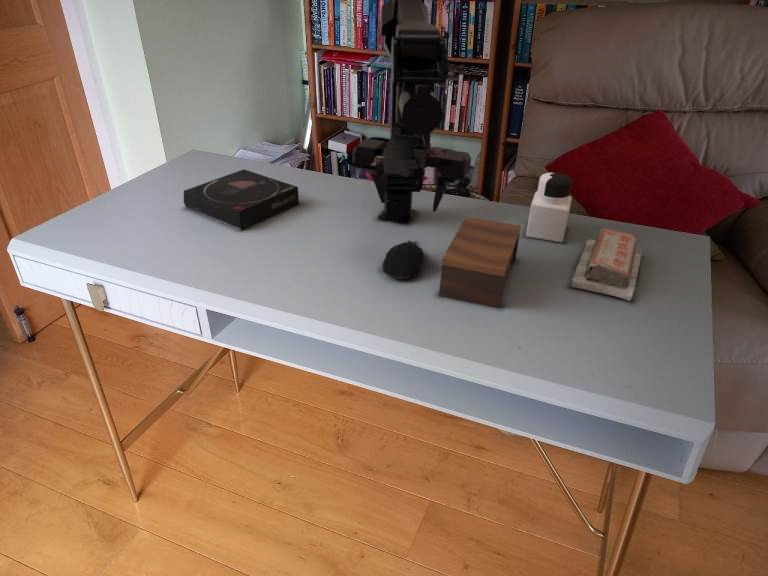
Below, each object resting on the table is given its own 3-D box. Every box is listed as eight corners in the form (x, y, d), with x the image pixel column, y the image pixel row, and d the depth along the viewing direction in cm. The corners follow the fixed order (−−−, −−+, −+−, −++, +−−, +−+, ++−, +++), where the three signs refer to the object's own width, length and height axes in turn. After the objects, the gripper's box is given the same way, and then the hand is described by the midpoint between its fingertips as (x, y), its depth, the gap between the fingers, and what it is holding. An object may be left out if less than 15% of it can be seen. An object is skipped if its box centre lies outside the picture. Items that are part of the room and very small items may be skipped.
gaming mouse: (431, 246, 112) (432, 226, 110) (414, 284, 100) (415, 263, 98) (398, 241, 113) (399, 222, 111) (378, 278, 101) (378, 258, 99)
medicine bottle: (565, 228, 120) (577, 172, 114) (562, 243, 115) (574, 185, 108) (530, 222, 122) (539, 167, 116) (525, 237, 116) (535, 179, 110)
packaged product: (591, 222, 112) (647, 233, 108) (586, 245, 114) (640, 257, 111) (575, 263, 98) (638, 277, 94) (569, 288, 100) (631, 303, 97)
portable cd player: (243, 185, 135) (241, 168, 133) (298, 204, 127) (297, 187, 125) (184, 207, 124) (181, 189, 121) (241, 230, 115) (239, 211, 113)
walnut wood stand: (461, 250, 111) (465, 216, 107) (515, 260, 108) (521, 225, 104) (438, 295, 97) (442, 258, 93) (499, 308, 94) (505, 270, 91)
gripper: (338, 121, 89) (340, 216, 97) (460, 137, 84) (450, 235, 92) (365, 103, 98) (364, 191, 106) (476, 117, 93) (466, 208, 101)
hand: (408, 206), depth 101 cm, fingers open, 9 cm apart
